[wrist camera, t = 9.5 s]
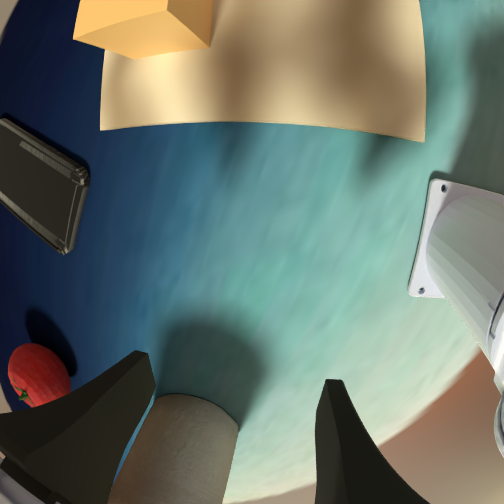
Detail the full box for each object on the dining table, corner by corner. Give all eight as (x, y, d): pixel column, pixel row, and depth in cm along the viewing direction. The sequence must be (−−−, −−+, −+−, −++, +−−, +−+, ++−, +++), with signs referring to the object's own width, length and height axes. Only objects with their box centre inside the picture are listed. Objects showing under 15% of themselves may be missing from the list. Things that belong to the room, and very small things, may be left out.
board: (405, -37, 9) (425, -67, 5) (417, 141, 14) (452, 144, 10) (128, -31, 12) (97, -53, 8) (108, 129, 17) (65, 132, 13)
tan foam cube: (214, -17, 12) (180, -67, 6) (209, 47, 13) (166, 10, 8) (142, -3, 12) (90, -36, 7) (134, 59, 14) (73, 39, 9)
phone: (67, 259, 21) (-16, 186, 20) (75, 254, 22) (-9, 184, 21) (87, 173, 18) (-4, 115, 17) (96, 170, 19) (4, 114, 18)
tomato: (26, 319, 26) (-15, 355, 19) (78, 355, 26) (39, 402, 19) (36, 364, 30) (5, 398, 23) (84, 396, 30) (54, 437, 22)
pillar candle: (153, 425, 29) (107, 524, 15) (153, 379, 25) (87, 506, 11) (230, 450, 29) (203, 557, 15) (250, 410, 25) (219, 553, 11)
